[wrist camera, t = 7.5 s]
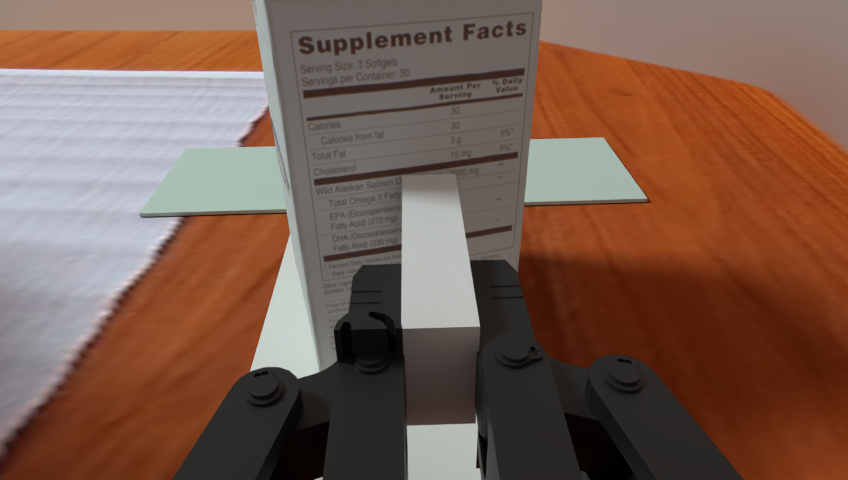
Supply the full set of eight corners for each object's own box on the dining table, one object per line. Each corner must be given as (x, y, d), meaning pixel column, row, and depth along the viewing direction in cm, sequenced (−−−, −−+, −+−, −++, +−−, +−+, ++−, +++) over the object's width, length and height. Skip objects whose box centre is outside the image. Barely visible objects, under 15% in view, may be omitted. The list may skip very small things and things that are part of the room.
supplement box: (293, 267, 26) (242, -52, 20) (454, 240, 28) (459, -63, 21) (315, 388, 20) (252, -13, 14) (518, 344, 22) (554, -32, 15)
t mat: (934, 606, 14) (938, 602, 14) (-175, 654, 14) (-179, 649, 14) (603, 140, 38) (603, 137, 38) (187, 151, 38) (186, 148, 37)
